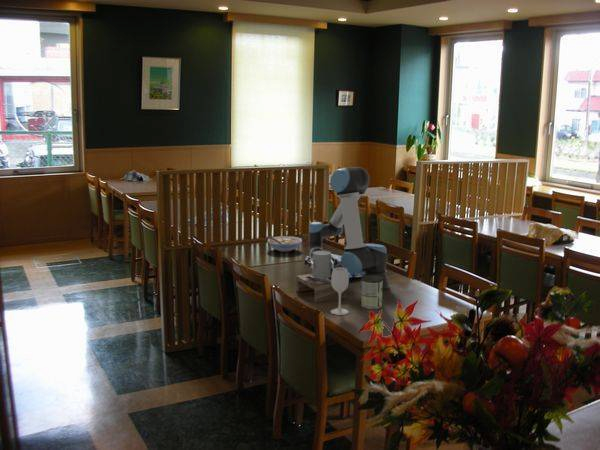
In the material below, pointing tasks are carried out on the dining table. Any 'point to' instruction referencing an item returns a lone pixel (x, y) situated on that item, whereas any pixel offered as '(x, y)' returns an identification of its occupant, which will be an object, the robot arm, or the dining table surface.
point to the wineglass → (339, 287)
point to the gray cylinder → (321, 264)
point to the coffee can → (371, 291)
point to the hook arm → (319, 280)
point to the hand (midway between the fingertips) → (322, 265)
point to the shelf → (318, 288)
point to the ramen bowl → (284, 243)
